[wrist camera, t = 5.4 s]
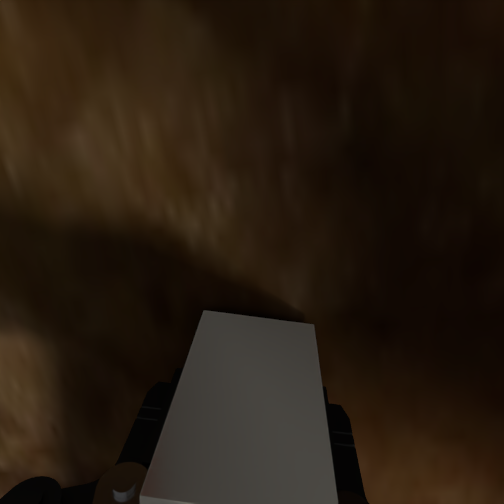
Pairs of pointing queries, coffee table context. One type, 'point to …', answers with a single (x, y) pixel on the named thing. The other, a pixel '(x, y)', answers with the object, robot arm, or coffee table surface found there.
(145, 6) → the coffee table surface
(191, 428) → the pink white-banded pillar
